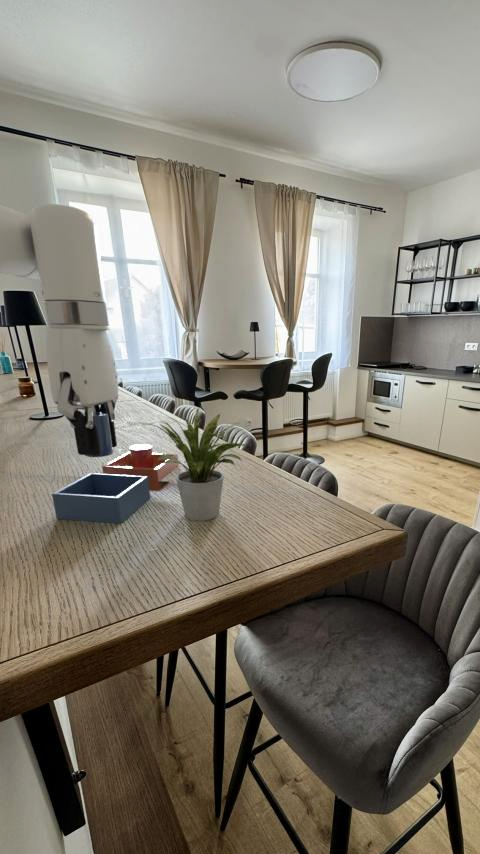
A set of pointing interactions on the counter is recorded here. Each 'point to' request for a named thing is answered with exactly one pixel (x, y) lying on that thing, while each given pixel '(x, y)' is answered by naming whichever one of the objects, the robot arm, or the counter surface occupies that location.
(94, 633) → the counter surface
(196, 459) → the house plant
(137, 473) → the terracotta bin
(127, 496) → the blue bin
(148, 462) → the red cylinder
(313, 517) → the counter surface
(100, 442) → the tall blue post
